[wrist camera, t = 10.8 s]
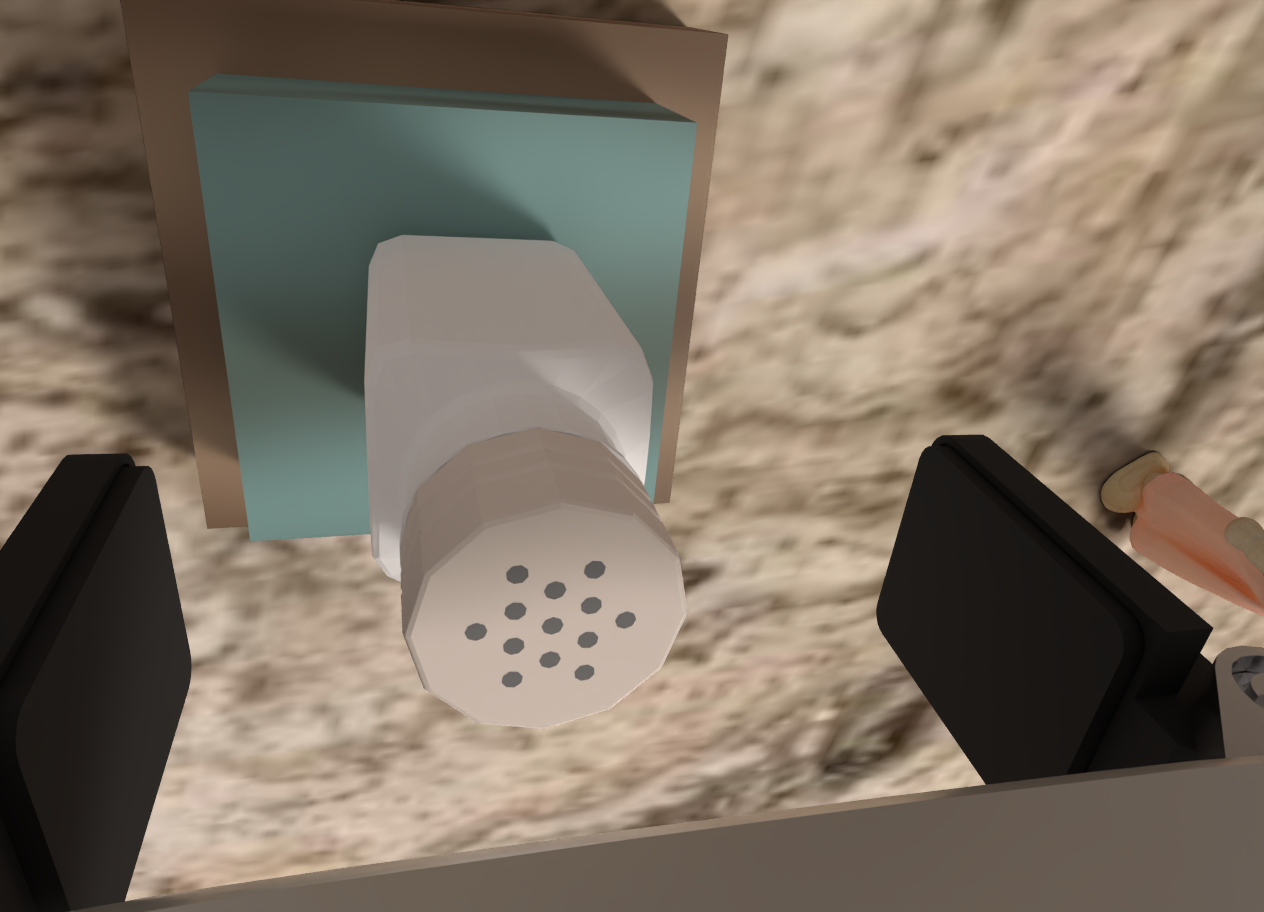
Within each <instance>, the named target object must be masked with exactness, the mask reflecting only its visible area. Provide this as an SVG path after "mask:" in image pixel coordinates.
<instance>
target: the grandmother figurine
mask: <svg viewBox="0 0 1264 912" xmlns="http://www.w3.org/2000/svg"><path fill="white" fill-rule="evenodd" d="M1169 472H1170V470H1169V465H1168V463H1167V461H1166V459H1165V458H1164V457H1163V456H1162V455H1161V454H1160V453H1157V452H1151V453H1148V454H1146V455H1144V456H1142V457H1140V458H1138V459H1137V460H1135V461H1133V462H1131V463H1130V464H1128V465H1127V466H1125V467H1123V468H1121V469H1120V470H1118V471H1117V472H1115V473H1114V474H1113V475H1112V476H1111V477H1110V478H1109V479H1108V480H1107V481H1106V482H1105V483H1104V485H1103V488H1102V491H1101V499H1102V502H1103V504H1104V506H1105V507H1106V508H1107V509H1109V510H1111V511H1114V512H1119V513H1128V512H1132V511H1134V512H1135V513H1136V514H1135V516H1134V518H1133V527H1132V529H1131V532H1130V542H1131V545H1132V548H1133V549H1134V550H1136V551H1137V552H1139V553H1140V554H1142V555H1144V556H1145V557H1147V558H1148V559H1150V560H1151V561H1153V562H1154V563H1156V564H1158V565H1159V566H1161V567H1163V568H1165V569H1166V570H1168V571H1170V572H1172V573H1174V574H1175V575H1177V576H1179V577H1181V578H1183V579H1185V580H1187V581H1188V582H1190V583H1192V584H1194V585H1196V586H1198V587H1201V588H1203V589H1205V590H1207V591H1209V592H1211V593H1213V594H1216V595H1218V596H1220V597H1222V598H1224V599H1226V600H1228V601H1230V602H1232V603H1234V604H1236V605H1238V606H1241V607H1243V608H1245V609H1247V610H1250V611H1252V612H1254V613H1257V614H1259V615H1261V616H1264V530H1263V528H1262V527H1261V526H1260V524H1259V523H1257V522H1256V521H1255V520H1253V519H1251V518H1247V517H1240V518H1238V517H1237V516H1235V515H1234V514H1232V513H1231V512H1229V511H1228V510H1226V509H1225V508H1223V507H1222V506H1220V505H1219V504H1218V503H1216V502H1215V501H1214V500H1212V499H1211V498H1210V497H1209V496H1208V495H1207V494H1205V493H1204V492H1203V491H1202V490H1201V489H1199V488H1198V487H1197V486H1195V485H1194V484H1193V483H1192V482H1191V481H1190V480H1189V479H1187V478H1186V477H1182V476H1180V475H1179V474H1177V473H1173V472H1170V473H1169Z"/></svg>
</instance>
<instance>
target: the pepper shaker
mask: <svg viewBox="0 0 1264 912" xmlns="http://www.w3.org/2000/svg"><path fill="white" fill-rule="evenodd" d="M364 385H365V414H366V441H367V466H368V490H369V511H370V530H371V548H372V556H373V558H374V559H375V561H376V562H377V563H378V565H379V566H380V567H381V569H382V570H383V571H384V572H385V574H386V575H387V576H389V577H391V578H393V579H395V580H398V581H400V582H401V589H402V594H401V603H402V633H403V635H404V638H405V641H406V643H407V646H408V648H409V651H410V653H411V656H412V659H413V661H414V664H415V666H416V669H417V672H418V674H419V677H420V679H421V682H422V684H423V687H424V689H425V690H427V691H428V692H430V693H431V694H433V695H434V696H436V697H438V698H439V699H441V700H442V701H444V702H445V703H447V704H449V705H450V706H452V707H453V708H455V709H456V710H458V711H460V712H461V713H463V714H464V715H466V716H467V717H469V718H470V719H472V720H474V721H475V722H477V723H482V724H493V725H504V726H515V727H526V728H537V729H546V728H550V727H553V726H556V725H559V724H563V723H566V722H569V721H573V720H576V719H579V718H582V717H586V716H589V715H592V714H595V713H599V712H602V711H605V710H609V709H611V708H612V707H613V706H614V705H616V704H617V703H618V702H619V701H621V700H622V699H623V698H624V697H626V696H627V695H628V694H629V693H631V692H632V691H633V690H634V689H636V688H637V687H638V686H639V685H641V684H642V683H643V682H644V681H646V680H647V679H648V678H649V677H651V676H652V675H653V674H654V673H656V672H657V671H658V670H659V669H661V668H662V666H663V663H664V661H665V659H666V657H667V655H668V653H669V651H670V649H671V647H672V644H673V642H674V640H675V638H676V636H677V634H678V632H679V630H680V627H681V625H682V623H683V621H684V619H685V617H686V615H687V611H688V610H687V603H686V597H685V590H684V584H683V578H682V571H681V565H680V559H679V554H678V552H677V550H676V548H675V546H674V544H673V542H672V540H671V538H670V536H669V534H668V532H667V530H666V528H665V526H664V525H663V523H662V522H661V521H660V517H659V515H658V513H657V511H656V509H655V507H654V505H653V503H652V502H651V501H650V497H649V495H648V493H647V491H646V489H645V487H644V483H645V476H646V467H647V457H648V448H649V439H650V426H651V409H652V393H653V379H652V376H651V373H650V370H649V367H648V365H647V362H646V359H645V356H644V353H643V350H642V348H641V347H640V345H639V344H638V342H637V341H636V339H635V338H634V336H633V335H632V334H631V332H630V331H629V329H628V328H627V326H626V325H625V323H624V322H623V321H622V319H621V318H620V316H619V315H618V313H617V312H616V310H615V309H614V307H613V306H612V305H611V303H610V302H609V300H608V299H607V297H606V296H605V294H604V293H603V292H602V290H601V289H600V287H599V286H598V284H597V283H596V281H595V280H594V279H593V277H592V276H591V274H590V273H589V271H588V270H587V268H586V267H585V266H584V264H583V263H582V261H581V260H580V258H579V257H578V255H577V254H576V253H575V251H574V250H572V249H570V248H567V247H565V246H563V245H561V244H559V243H557V242H555V241H545V240H520V239H495V238H469V237H443V236H417V235H400V236H397V237H395V238H392V239H389V240H386V241H384V242H381V243H378V245H377V247H376V250H375V252H374V255H373V257H372V260H371V262H370V264H369V274H368V299H367V325H366V350H365V375H364Z"/></svg>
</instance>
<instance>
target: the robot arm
mask: <svg viewBox="0 0 1264 912" xmlns="http://www.w3.org/2000/svg"><path fill="white" fill-rule="evenodd" d="M876 616H877V622H878V625H879V628H880V630H881V632H882V634H883V635H884V637H885V638H886V640H887V641H888V643H889V644H890V646H891V647H892V649H893V650H894V651H895V653H896V654H897V656H898V657H899V659H900V660H901V662H902V663H903V665H904V666H905V667H906V669H907V670H908V672H909V673H910V675H911V676H912V678H913V679H914V681H915V682H916V683H917V685H918V686H919V688H920V689H921V691H922V692H923V694H924V695H925V697H926V698H927V700H928V701H929V702H930V704H931V705H932V707H933V708H934V710H935V711H936V713H937V714H938V716H939V717H940V718H941V720H942V721H943V723H944V724H945V726H946V727H947V729H948V730H949V732H950V733H951V734H952V736H953V737H954V739H955V740H956V742H957V743H958V745H959V746H960V748H961V749H962V750H963V752H964V753H965V755H966V756H967V758H968V759H969V761H970V762H971V764H972V765H973V766H974V768H975V769H976V771H977V772H978V774H979V775H980V777H981V778H982V780H983V781H984V782H985V784H986V785H980V786H972V787H964V788H956V789H948V790H939V791H931V792H923V793H915V794H906V795H898V796H890V797H882V798H875V799H867V800H859V801H851V802H843V803H835V804H827V805H819V806H811V807H804V808H796V809H788V810H780V811H772V812H764V813H756V814H749V815H741V816H733V817H725V818H718V819H710V820H702V821H694V822H686V823H679V824H671V825H663V826H655V827H648V828H640V829H632V830H624V831H617V832H609V833H602V834H594V835H587V836H579V837H572V838H564V839H557V840H549V841H542V842H534V843H527V844H519V845H512V846H504V847H497V848H489V849H482V850H474V851H467V852H459V853H452V854H444V855H437V856H430V857H422V858H415V859H407V860H400V861H392V862H385V863H377V864H370V865H362V866H355V867H347V868H341V869H334V870H327V871H320V872H313V873H306V874H300V875H293V876H286V877H279V878H272V879H265V880H258V881H252V882H245V883H238V884H231V885H224V886H218V887H211V888H205V889H198V890H192V891H185V892H179V893H172V894H166V895H159V896H153V897H148V898H142V899H136V900H131V901H125V898H126V895H127V892H128V888H129V885H130V882H131V878H132V875H133V872H134V868H135V865H136V862H137V859H138V855H139V852H140V849H141V845H142V842H143V839H144V835H145V832H146V829H147V825H148V822H149V819H150V815H151V812H152V809H153V805H154V802H155V799H156V795H157V792H158V789H159V786H160V782H161V779H162V776H163V772H164V769H165V766H166V762H167V759H168V756H169V752H170V749H171V746H172V742H173V739H174V736H175V732H176V729H177V726H178V722H179V719H180V716H181V712H182V709H183V706H184V703H185V699H186V696H187V693H188V689H189V685H190V679H191V654H190V648H189V643H188V639H187V634H186V629H185V624H184V619H183V614H182V609H181V604H180V599H179V594H178V589H177V584H176V579H175V574H174V569H173V564H172V559H171V554H170V549H169V544H168V539H167V534H166V529H165V524H164V519H163V514H162V509H161V504H160V499H159V494H158V489H157V484H156V479H155V476H154V473H153V471H152V469H151V468H150V467H149V466H135V463H134V461H133V459H132V457H131V456H130V455H129V454H127V453H123V454H78V455H67V456H66V457H65V458H64V459H62V461H61V462H60V464H59V465H58V467H57V468H56V470H55V471H54V473H53V474H52V475H51V477H50V478H49V480H48V481H47V483H46V484H45V486H44V487H43V489H42V490H41V492H40V493H39V494H38V496H37V497H36V499H35V500H34V502H33V503H32V505H31V506H30V508H29V509H28V511H27V512H26V514H25V515H24V516H23V518H22V519H21V521H20V522H19V524H18V525H17V527H16V528H15V530H14V531H13V533H12V534H11V535H10V537H9V538H8V540H7V541H6V543H5V544H4V546H3V547H2V549H1V550H0V912H1264V648H1262V647H1250V646H1238V647H1232V648H1226V649H1225V650H1224V651H1222V652H1221V653H1220V654H1218V655H1217V657H1216V659H1215V660H1214V662H1213V664H1212V663H1211V662H1209V661H1208V660H1207V659H1206V658H1205V657H1204V656H1203V655H1202V654H1200V652H1201V650H1202V648H1203V647H1204V645H1205V643H1206V641H1207V639H1208V637H1209V635H1210V633H1211V632H1212V630H1213V627H1212V626H1210V625H1209V624H1208V623H1207V622H1206V621H1204V620H1203V619H1202V618H1201V617H1200V616H1199V615H1197V614H1196V613H1195V612H1194V611H1193V610H1191V609H1190V608H1189V607H1188V606H1187V605H1186V604H1184V603H1183V602H1182V601H1181V600H1180V599H1178V598H1177V597H1176V596H1175V595H1174V594H1173V593H1171V592H1170V591H1169V590H1168V589H1167V588H1165V587H1164V586H1163V585H1162V584H1161V583H1160V582H1158V581H1157V580H1156V579H1155V578H1154V577H1153V576H1151V575H1150V574H1149V573H1148V572H1147V571H1145V570H1144V569H1143V568H1142V567H1141V566H1140V565H1138V564H1137V563H1136V562H1135V561H1134V560H1132V559H1131V558H1130V557H1129V556H1128V555H1127V554H1125V553H1124V552H1123V551H1122V550H1121V549H1119V548H1118V547H1117V546H1116V545H1115V544H1114V543H1112V542H1111V541H1110V540H1109V539H1108V538H1107V537H1105V536H1104V535H1103V534H1102V533H1101V532H1099V531H1098V530H1097V529H1096V528H1095V527H1094V526H1092V525H1091V524H1090V523H1089V522H1088V521H1086V520H1085V519H1084V518H1083V517H1082V516H1081V515H1079V514H1078V513H1077V512H1076V511H1075V510H1073V509H1072V508H1071V507H1070V506H1069V505H1068V504H1066V503H1065V502H1064V501H1063V500H1062V499H1060V498H1059V497H1058V496H1057V495H1056V494H1055V493H1053V492H1052V491H1051V490H1050V489H1049V488H1048V487H1046V486H1045V485H1044V484H1043V483H1042V482H1040V481H1039V480H1038V479H1037V478H1036V477H1035V476H1033V475H1032V474H1031V473H1030V472H1029V471H1027V470H1026V469H1025V468H1024V467H1023V466H1022V465H1020V464H1019V463H1018V462H1017V461H1016V460H1014V459H1013V458H1012V457H1011V456H1010V455H1009V454H1007V453H1006V452H1005V451H1004V450H1003V449H1002V448H1000V447H999V446H998V445H997V444H996V443H994V442H993V441H992V440H991V439H990V438H988V437H986V436H985V435H942V436H940V437H938V438H937V439H936V440H935V441H934V442H933V444H932V446H929V447H927V448H925V449H924V451H923V452H922V454H921V456H920V458H919V462H918V465H917V469H916V472H915V476H914V479H913V483H912V486H911V489H910V493H909V496H908V500H907V503H906V507H905V510H904V514H903V517H902V520H901V524H900V527H899V531H898V534H897V538H896V541H895V545H894V548H893V551H892V555H891V558H890V562H889V565H888V569H887V572H886V576H885V579H884V582H883V586H882V589H881V593H880V596H879V600H878V603H877V609H876Z"/></svg>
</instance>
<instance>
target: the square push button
mask: <svg viewBox="0 0 1264 912" xmlns="http://www.w3.org/2000/svg"><path fill="white" fill-rule="evenodd" d="M120 1H121V8H122V14H123V20H124V26H125V32H126V38H127V44H128V50H129V56H130V62H131V68H132V74H133V80H134V86H135V92H136V98H137V104H138V111H139V117H140V123H141V129H142V135H143V141H144V147H145V153H146V159H147V165H148V171H149V177H150V183H151V189H152V195H153V201H154V207H155V214H156V220H157V226H158V232H159V238H160V244H161V250H162V256H163V262H164V268H165V274H166V280H167V286H168V292H169V298H170V304H171V310H172V317H173V323H174V329H175V335H176V341H177V347H178V353H179V359H180V365H181V371H182V377H183V383H184V389H185V395H186V401H187V407H188V413H189V420H190V426H191V432H192V438H193V444H194V450H195V456H196V462H197V468H198V474H199V480H200V486H201V492H202V498H203V504H204V510H205V516H206V523H207V529H210V528H227V527H245V526H248V528H249V535H250V541H262V540H279V539H295V538H312V537H329V536H345V535H362V534H371V530H370V511H369V490H368V466H367V441H366V414H365V385H364V375H365V350H366V325H367V299H368V274H369V264H370V262H371V260H372V257H373V255H374V252H375V250H376V247H377V245H378V243H381V242H384V241H386V240H389V239H392V238H395V237H397V236H400V235H417V236H443V237H469V238H495V239H520V240H545V241H555V242H557V243H559V244H561V245H563V246H565V247H567V248H570V249H572V250H574V251H575V253H576V254H577V255H578V257H579V258H580V260H581V261H582V263H583V264H584V266H585V267H586V268H587V270H588V271H589V273H590V274H591V276H592V277H593V279H594V280H595V281H596V283H597V284H598V286H599V287H600V289H601V290H602V292H603V293H604V294H605V296H606V297H607V299H608V300H609V302H610V303H611V305H612V306H613V307H614V309H615V310H616V312H617V313H618V315H619V316H620V318H621V319H622V321H623V322H624V323H625V325H626V326H627V328H628V329H629V331H630V332H631V334H632V335H633V336H634V338H635V339H636V341H637V342H638V344H639V345H640V347H641V348H642V350H643V353H644V356H645V359H646V362H647V365H648V367H649V370H650V373H651V376H652V379H653V393H652V409H651V426H650V439H649V448H648V457H647V467H646V476H645V483H644V487H645V489H646V491H647V493H648V495H649V497H650V501H651V502H652V503H653V504H657V503H670V495H671V487H672V479H673V471H674V463H675V455H676V447H677V439H678V431H679V423H680V415H681V407H682V399H683V391H684V383H685V375H686V367H687V359H688V351H689V343H690V336H691V328H692V320H693V312H694V304H695V296H696V288H697V280H698V272H699V264H700V256H701V248H702V240H703V232H704V224H705V216H706V208H707V200H708V192H709V184H710V176H711V168H712V160H713V152H714V144H715V136H716V128H717V120H718V112H719V104H720V96H721V89H722V81H723V73H724V65H725V57H726V49H727V41H728V34H724V33H718V32H713V31H707V30H702V29H696V28H691V27H683V26H672V25H661V24H650V23H639V22H628V21H617V20H606V19H595V18H584V17H573V16H563V15H552V14H541V13H530V12H519V11H508V10H497V9H486V8H475V7H464V6H453V5H442V4H431V3H420V2H410V1H399V0H120Z"/></svg>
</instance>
